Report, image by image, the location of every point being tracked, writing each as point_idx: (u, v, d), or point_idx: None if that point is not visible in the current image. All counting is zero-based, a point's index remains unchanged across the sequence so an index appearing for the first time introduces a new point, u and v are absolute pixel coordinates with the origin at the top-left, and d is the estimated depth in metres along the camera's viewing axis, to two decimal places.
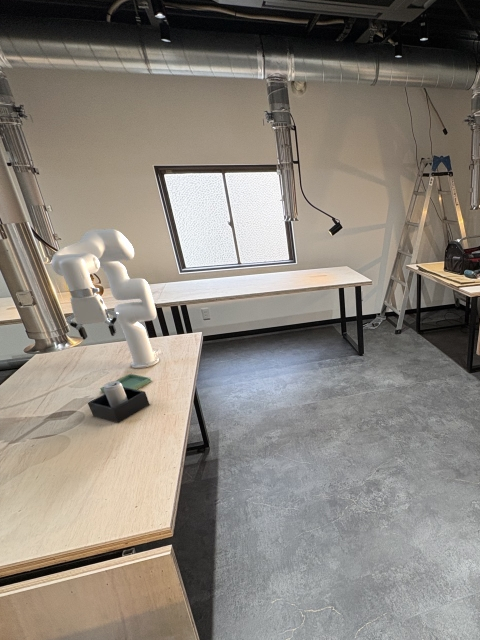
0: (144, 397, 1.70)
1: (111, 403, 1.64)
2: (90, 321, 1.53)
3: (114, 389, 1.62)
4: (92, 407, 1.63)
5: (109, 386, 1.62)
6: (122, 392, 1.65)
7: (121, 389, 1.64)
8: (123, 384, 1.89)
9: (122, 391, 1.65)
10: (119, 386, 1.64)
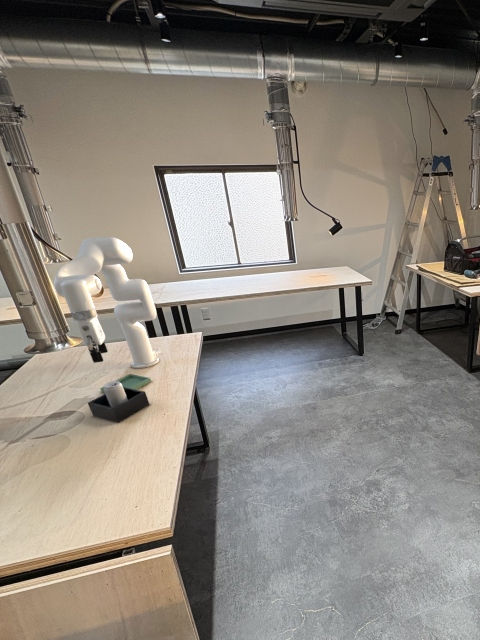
0: (144, 397, 1.70)
1: (111, 403, 1.64)
2: None
3: (114, 389, 1.62)
4: (92, 407, 1.63)
5: (109, 386, 1.62)
6: (122, 392, 1.65)
7: (121, 389, 1.64)
8: (123, 384, 1.89)
9: (122, 391, 1.65)
10: (119, 386, 1.64)
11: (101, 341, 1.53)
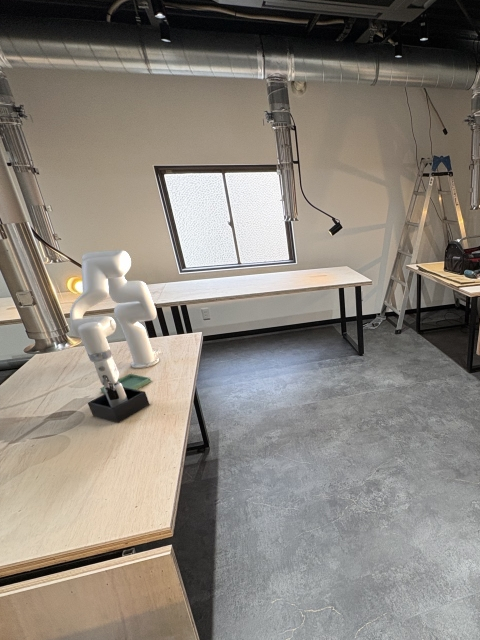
0: (144, 397, 1.70)
1: (111, 403, 1.64)
2: None
3: None
4: (92, 407, 1.63)
5: None
6: (122, 392, 1.65)
7: (121, 389, 1.64)
8: (123, 384, 1.89)
9: (122, 391, 1.65)
10: (119, 386, 1.64)
11: (116, 379, 1.60)
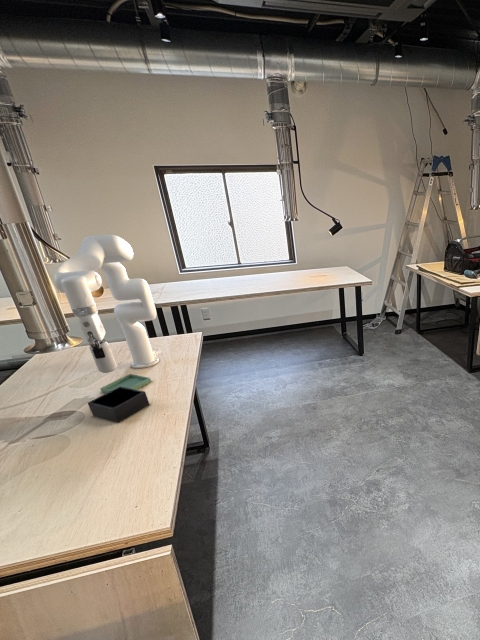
0: (144, 397, 1.70)
1: (97, 362, 1.59)
2: None
3: None
4: (92, 407, 1.63)
5: None
6: (108, 351, 1.59)
7: (107, 348, 1.59)
8: (123, 384, 1.89)
9: (108, 350, 1.59)
10: (105, 344, 1.58)
11: (102, 337, 1.55)
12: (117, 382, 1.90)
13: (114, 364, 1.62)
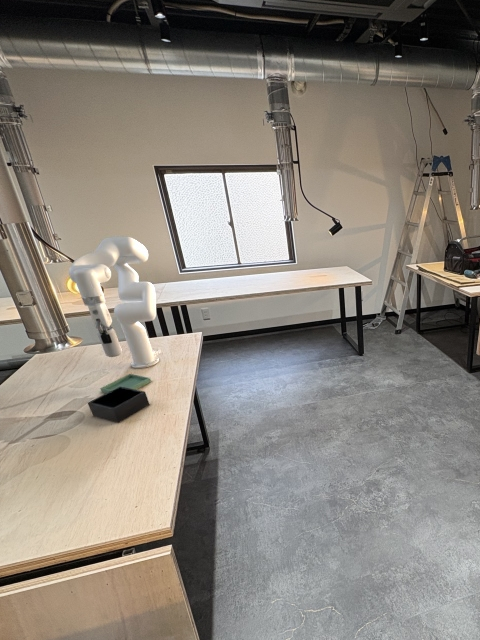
0: (144, 397, 1.70)
1: (104, 347, 1.75)
2: None
3: None
4: (92, 407, 1.63)
5: None
6: (115, 337, 1.75)
7: (114, 334, 1.75)
8: (123, 384, 1.89)
9: (115, 336, 1.75)
10: (112, 331, 1.74)
11: (109, 324, 1.71)
12: (117, 382, 1.90)
13: (120, 349, 1.78)
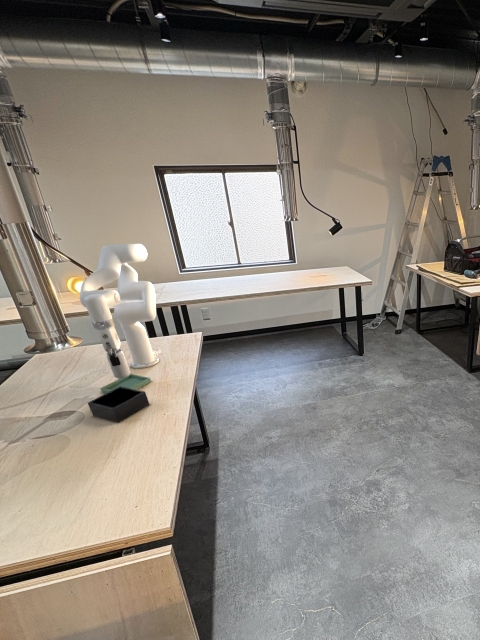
0: (144, 397, 1.70)
1: (113, 369, 1.80)
2: None
3: None
4: (92, 407, 1.63)
5: None
6: (123, 359, 1.81)
7: (122, 356, 1.81)
8: (123, 384, 1.89)
9: (123, 358, 1.81)
10: (120, 353, 1.80)
11: (118, 347, 1.77)
12: (117, 382, 1.90)
13: (128, 371, 1.84)
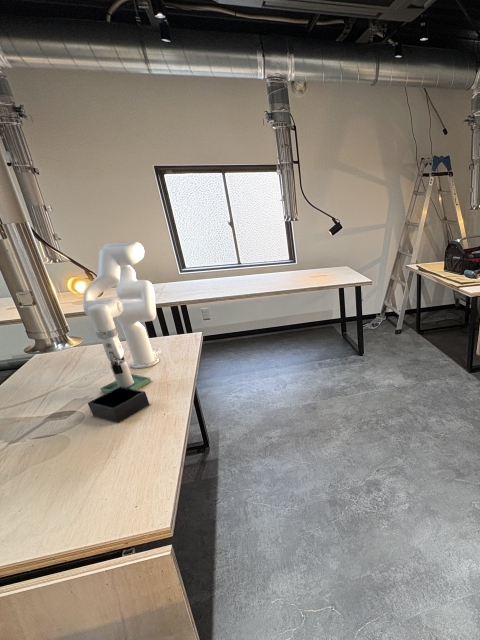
0: (144, 397, 1.70)
1: (117, 379, 1.83)
2: None
3: None
4: (92, 407, 1.63)
5: None
6: (127, 369, 1.84)
7: (126, 367, 1.83)
8: None
9: (127, 368, 1.84)
10: (124, 364, 1.82)
11: (121, 356, 1.79)
12: None
13: (131, 381, 1.87)
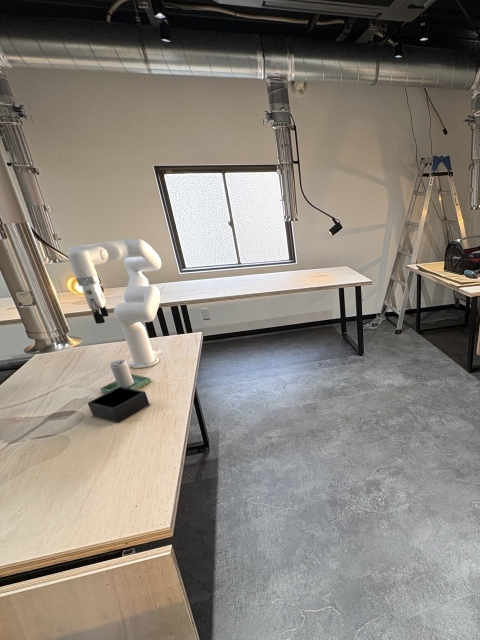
0: (144, 397, 1.70)
1: (117, 379, 1.83)
2: None
3: (120, 366, 1.81)
4: (92, 407, 1.63)
5: (115, 364, 1.81)
6: (127, 369, 1.84)
7: (126, 367, 1.83)
8: None
9: (127, 368, 1.84)
10: (124, 364, 1.82)
11: (103, 304, 1.74)
12: None
13: (131, 381, 1.87)
